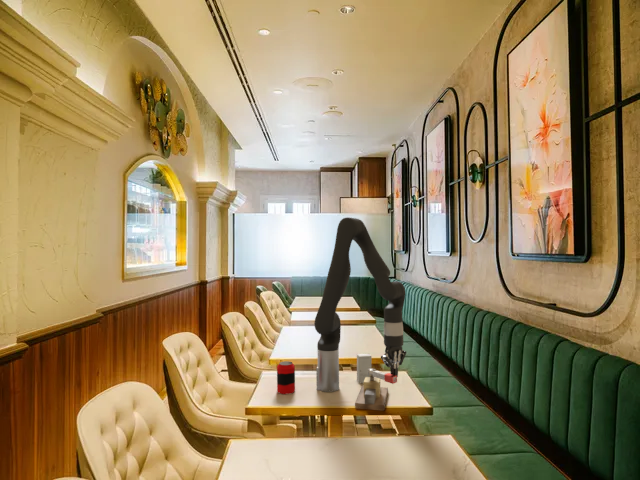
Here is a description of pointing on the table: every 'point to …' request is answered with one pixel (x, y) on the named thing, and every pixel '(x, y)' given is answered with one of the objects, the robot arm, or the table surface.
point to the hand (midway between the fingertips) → (394, 377)
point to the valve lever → (382, 375)
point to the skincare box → (363, 366)
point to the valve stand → (372, 395)
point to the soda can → (285, 377)
